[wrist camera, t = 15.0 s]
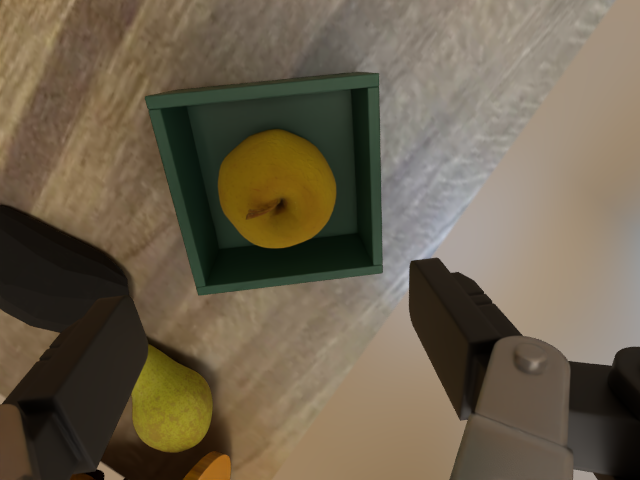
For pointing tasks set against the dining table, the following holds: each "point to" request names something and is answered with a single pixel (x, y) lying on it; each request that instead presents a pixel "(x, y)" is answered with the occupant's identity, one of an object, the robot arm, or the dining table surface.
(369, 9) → the dining table surface
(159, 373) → the fruit
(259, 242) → the apple
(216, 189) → the bin
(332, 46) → the dining table surface
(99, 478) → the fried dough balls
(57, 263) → the gaming mouse
